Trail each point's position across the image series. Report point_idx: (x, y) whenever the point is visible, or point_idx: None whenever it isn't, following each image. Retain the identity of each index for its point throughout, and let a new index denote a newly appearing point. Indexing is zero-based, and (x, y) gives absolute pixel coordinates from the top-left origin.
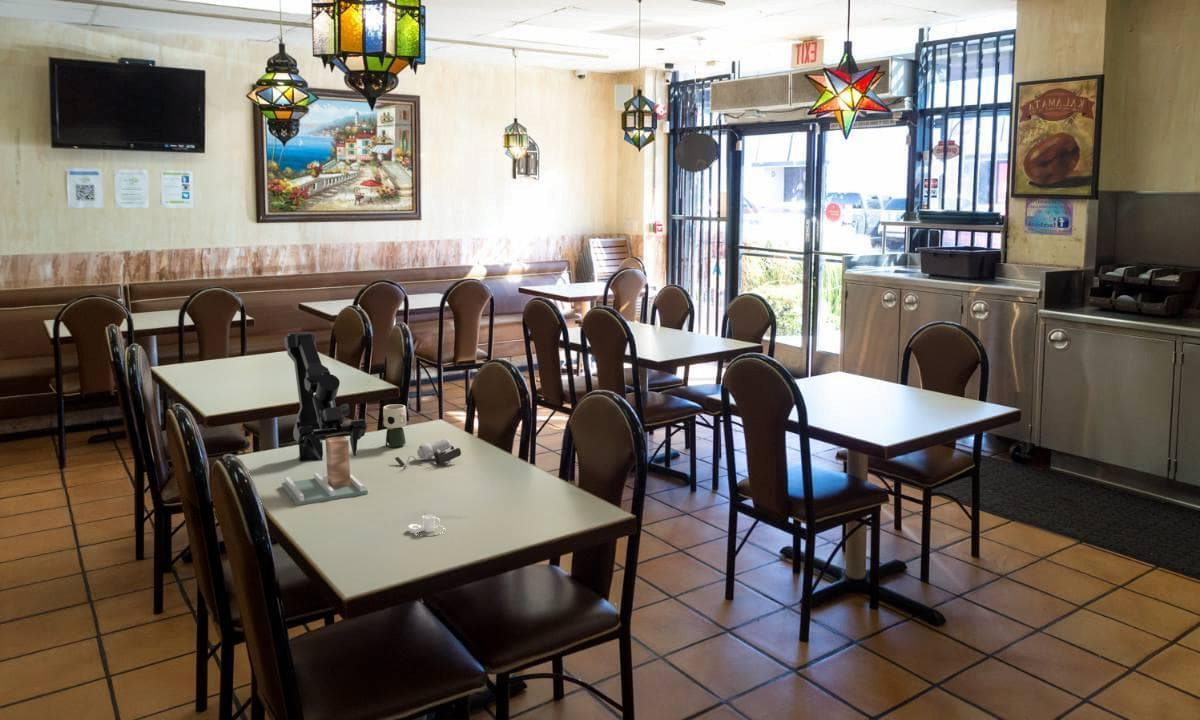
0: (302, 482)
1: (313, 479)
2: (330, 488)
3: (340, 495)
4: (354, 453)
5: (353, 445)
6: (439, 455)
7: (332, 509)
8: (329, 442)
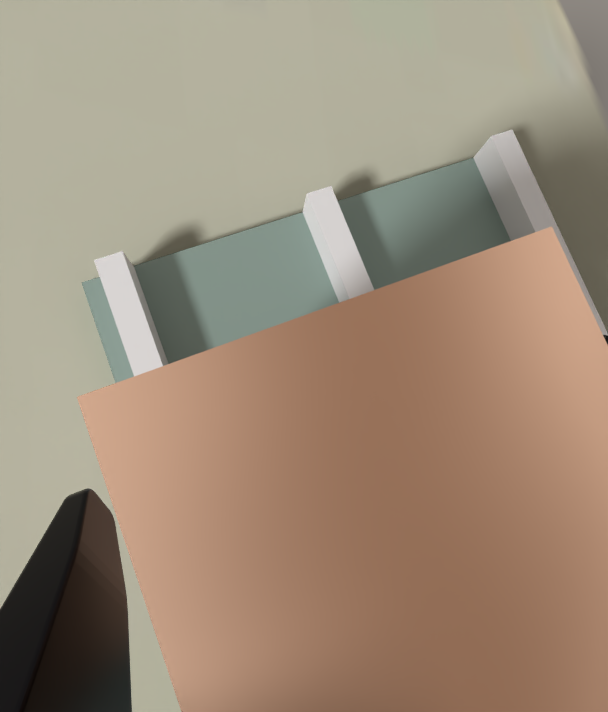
0: None
1: None
2: (338, 238)
3: (266, 226)
4: (89, 500)
5: (51, 625)
6: None
7: (292, 55)
8: (568, 286)
